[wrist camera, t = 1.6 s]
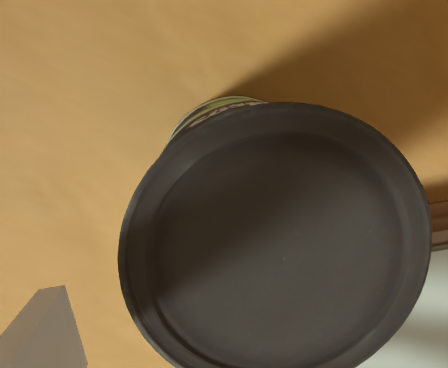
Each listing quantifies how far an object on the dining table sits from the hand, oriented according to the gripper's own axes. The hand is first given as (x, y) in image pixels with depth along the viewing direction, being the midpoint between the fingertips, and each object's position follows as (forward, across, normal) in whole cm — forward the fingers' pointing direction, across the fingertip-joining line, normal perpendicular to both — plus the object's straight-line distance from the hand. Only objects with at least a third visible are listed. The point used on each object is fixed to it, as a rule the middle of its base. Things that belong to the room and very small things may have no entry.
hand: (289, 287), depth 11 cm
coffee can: (+15, 0, 0) cm, 15 cm away
